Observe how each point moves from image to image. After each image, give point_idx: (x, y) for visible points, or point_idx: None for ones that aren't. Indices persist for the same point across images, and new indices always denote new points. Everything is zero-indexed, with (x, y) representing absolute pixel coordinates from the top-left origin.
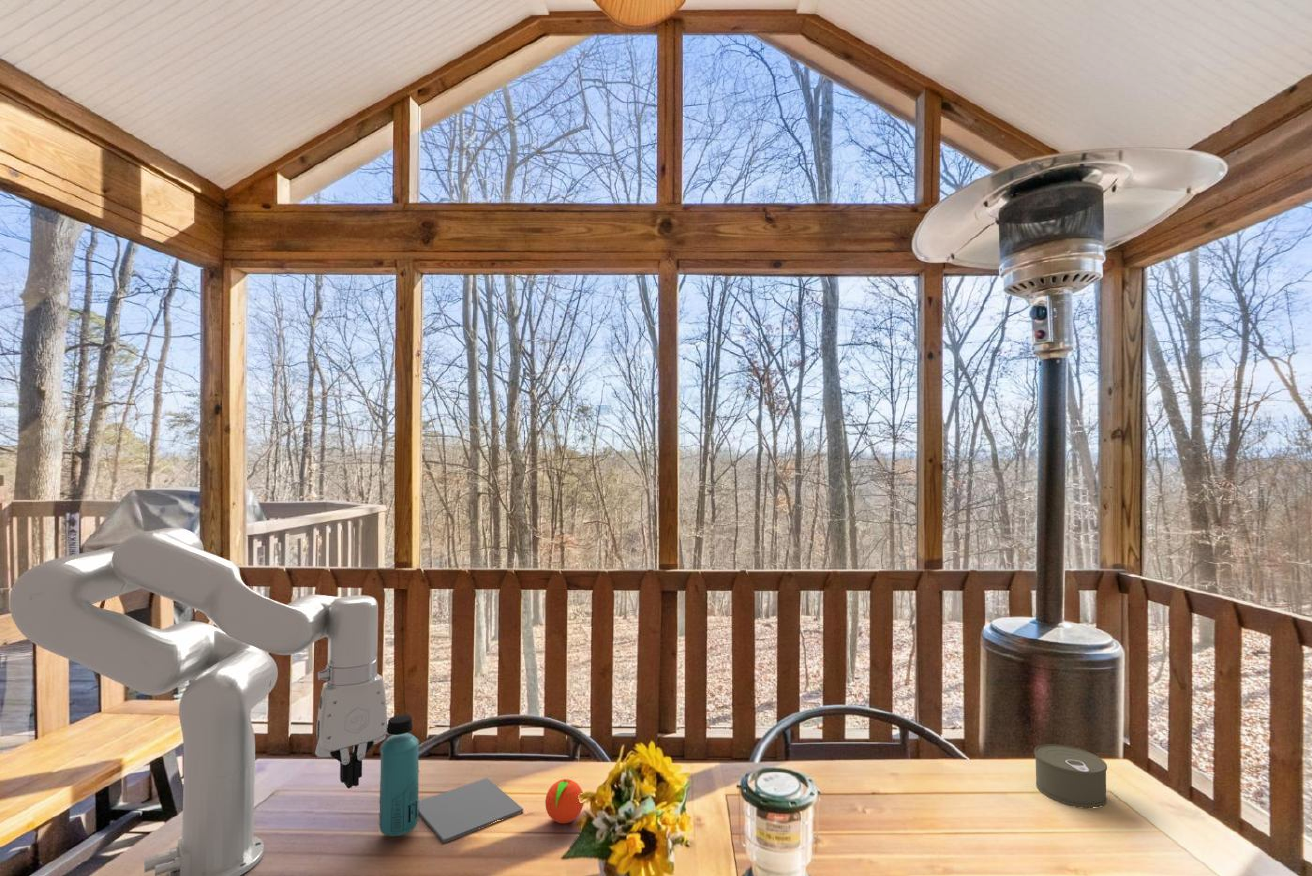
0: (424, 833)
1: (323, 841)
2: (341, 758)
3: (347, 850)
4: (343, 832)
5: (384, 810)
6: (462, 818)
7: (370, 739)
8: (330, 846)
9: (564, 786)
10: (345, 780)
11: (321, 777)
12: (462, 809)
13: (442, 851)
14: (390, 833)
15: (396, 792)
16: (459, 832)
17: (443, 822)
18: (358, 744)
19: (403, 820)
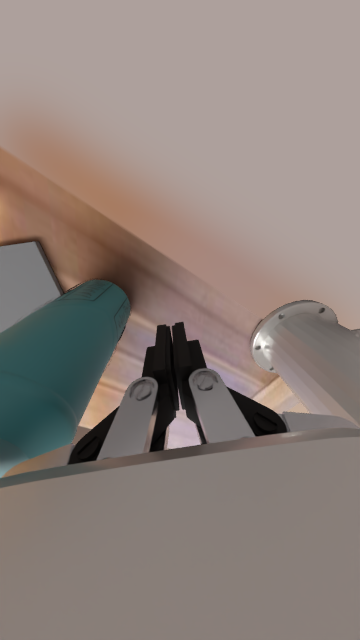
0: (72, 285)
1: (194, 329)
2: (227, 391)
3: (172, 297)
4: (172, 337)
5: (115, 306)
6: (9, 287)
7: (36, 490)
8: (189, 316)
9: None
10: (190, 341)
11: (180, 430)
12: (13, 311)
13: (38, 217)
14: (115, 285)
15: (77, 305)
16: (8, 248)
17: (41, 292)
18: (149, 453)
19: (88, 282)
